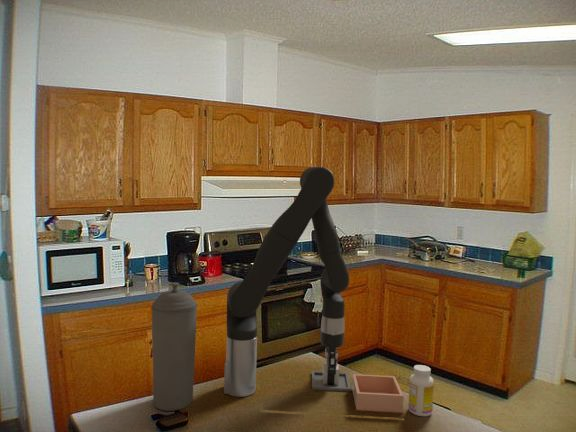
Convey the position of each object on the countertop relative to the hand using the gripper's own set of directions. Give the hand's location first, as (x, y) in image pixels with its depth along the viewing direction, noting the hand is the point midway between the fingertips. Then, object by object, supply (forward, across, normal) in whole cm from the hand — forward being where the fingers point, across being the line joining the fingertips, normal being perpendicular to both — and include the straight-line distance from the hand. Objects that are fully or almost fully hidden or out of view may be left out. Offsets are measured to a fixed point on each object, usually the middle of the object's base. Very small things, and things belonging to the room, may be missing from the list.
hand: (330, 381), depth 146 cm
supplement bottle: (+1, +15, +25) cm, 29 cm away
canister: (+1, +18, -46) cm, 49 cm away
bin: (+1, +11, +13) cm, 17 cm away
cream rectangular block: (0, 0, 0) cm, 0 cm away
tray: (+1, 0, 0) cm, 1 cm away
